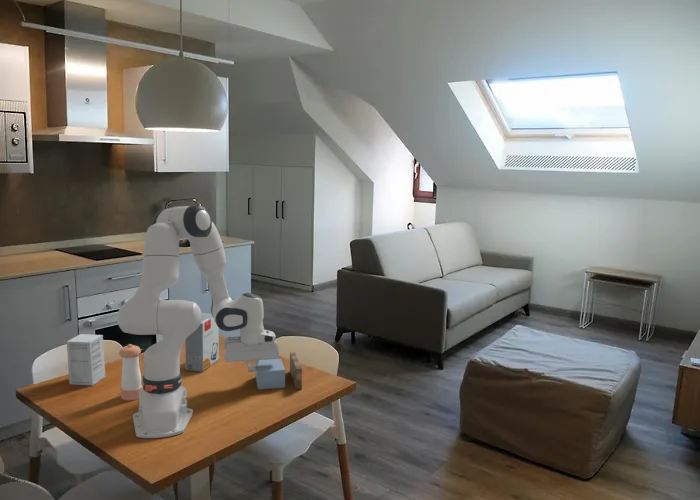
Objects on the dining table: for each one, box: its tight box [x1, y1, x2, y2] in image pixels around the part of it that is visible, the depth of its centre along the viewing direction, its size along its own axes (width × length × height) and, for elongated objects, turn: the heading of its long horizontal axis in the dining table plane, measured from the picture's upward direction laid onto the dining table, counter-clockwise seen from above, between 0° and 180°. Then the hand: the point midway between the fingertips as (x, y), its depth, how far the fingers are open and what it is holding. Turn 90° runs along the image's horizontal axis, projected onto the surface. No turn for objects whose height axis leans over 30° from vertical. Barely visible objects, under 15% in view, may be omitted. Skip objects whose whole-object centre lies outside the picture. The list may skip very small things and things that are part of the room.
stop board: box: [289, 351, 303, 390], centre depth 217 cm, size 18×2×8 cm, turn 14°
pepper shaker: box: [119, 343, 143, 401], centre depth 198 cm, size 7×7×19 cm
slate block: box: [254, 358, 286, 390], centre depth 215 cm, size 12×10×7 cm
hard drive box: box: [184, 312, 220, 373], centre depth 230 cm, size 16×8×20 cm, turn 168°
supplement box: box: [66, 333, 106, 387], centre depth 211 cm, size 10×9×17 cm
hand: (252, 371), depth 213 cm, fingers closed
